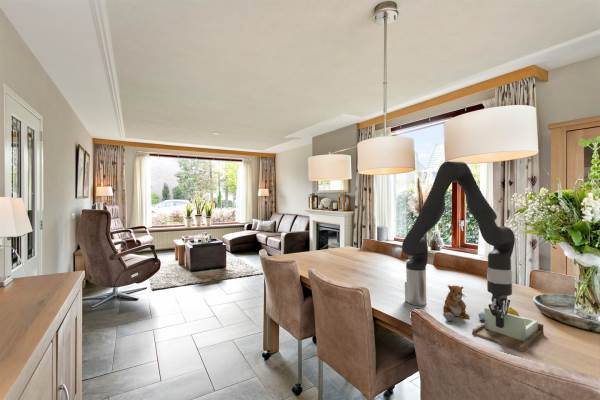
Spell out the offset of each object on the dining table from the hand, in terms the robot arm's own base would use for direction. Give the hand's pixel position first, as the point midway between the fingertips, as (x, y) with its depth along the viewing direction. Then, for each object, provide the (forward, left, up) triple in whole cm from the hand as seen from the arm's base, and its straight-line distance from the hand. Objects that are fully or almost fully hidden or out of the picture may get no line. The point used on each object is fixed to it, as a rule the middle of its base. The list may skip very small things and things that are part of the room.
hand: (499, 326), depth 104 cm
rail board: (0, +6, -5) cm, 8 cm away
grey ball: (-19, 0, -5) cm, 19 cm away
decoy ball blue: (-11, +12, -5) cm, 17 cm away
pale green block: (0, +10, -4) cm, 10 cm away
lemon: (0, +10, -3) cm, 10 cm away
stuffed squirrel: (-22, +11, -5) cm, 25 cm away
